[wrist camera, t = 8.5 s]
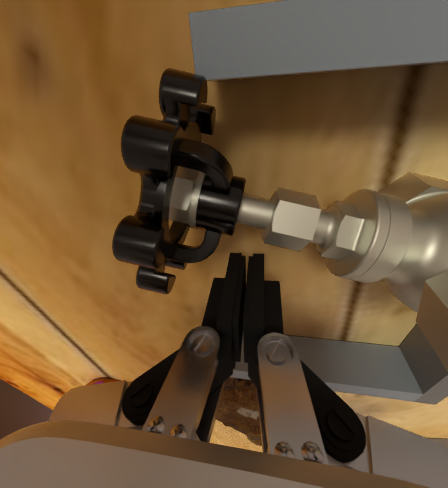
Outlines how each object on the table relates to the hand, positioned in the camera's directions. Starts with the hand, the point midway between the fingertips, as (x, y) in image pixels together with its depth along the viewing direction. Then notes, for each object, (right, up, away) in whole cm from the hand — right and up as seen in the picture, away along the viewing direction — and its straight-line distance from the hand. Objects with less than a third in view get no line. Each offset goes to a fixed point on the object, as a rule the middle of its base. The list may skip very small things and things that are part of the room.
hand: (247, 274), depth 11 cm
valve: (+3, +4, -1) cm, 5 cm away
